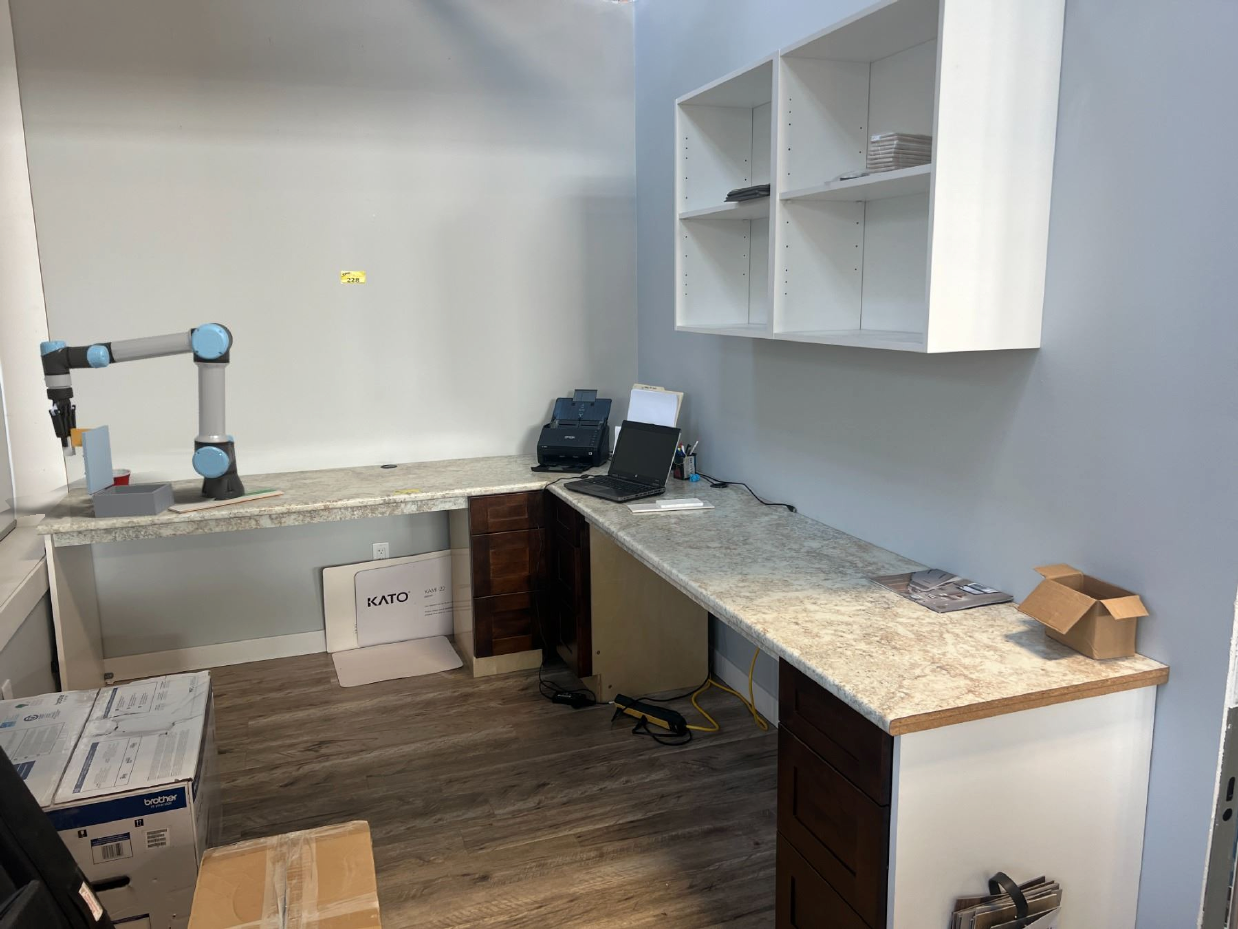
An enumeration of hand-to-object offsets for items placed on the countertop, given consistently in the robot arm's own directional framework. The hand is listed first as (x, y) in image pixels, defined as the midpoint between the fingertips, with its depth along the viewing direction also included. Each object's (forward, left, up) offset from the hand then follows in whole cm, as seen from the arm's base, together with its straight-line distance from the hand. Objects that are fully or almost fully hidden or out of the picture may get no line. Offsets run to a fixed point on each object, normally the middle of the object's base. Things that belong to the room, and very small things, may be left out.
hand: (69, 455), depth 300 cm
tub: (-19, 0, -22) cm, 29 cm away
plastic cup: (-5, -18, -22) cm, 29 cm away
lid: (-10, 0, -2) cm, 10 cm away
